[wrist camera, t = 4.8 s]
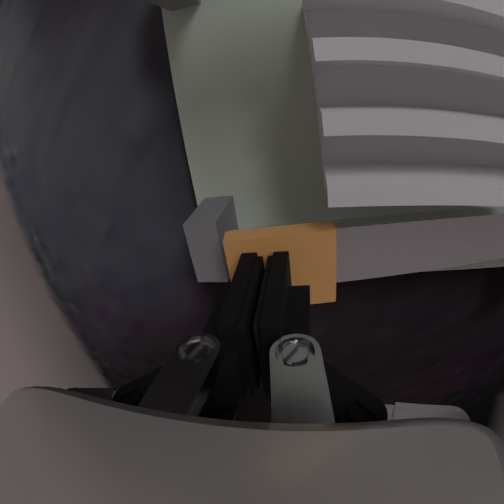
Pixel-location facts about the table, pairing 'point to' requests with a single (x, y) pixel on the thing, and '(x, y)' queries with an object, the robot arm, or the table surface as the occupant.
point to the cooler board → (335, 111)
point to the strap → (373, 246)
